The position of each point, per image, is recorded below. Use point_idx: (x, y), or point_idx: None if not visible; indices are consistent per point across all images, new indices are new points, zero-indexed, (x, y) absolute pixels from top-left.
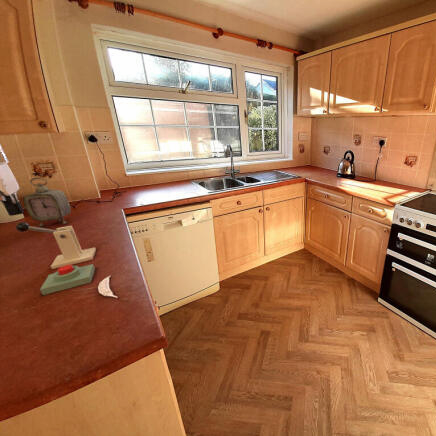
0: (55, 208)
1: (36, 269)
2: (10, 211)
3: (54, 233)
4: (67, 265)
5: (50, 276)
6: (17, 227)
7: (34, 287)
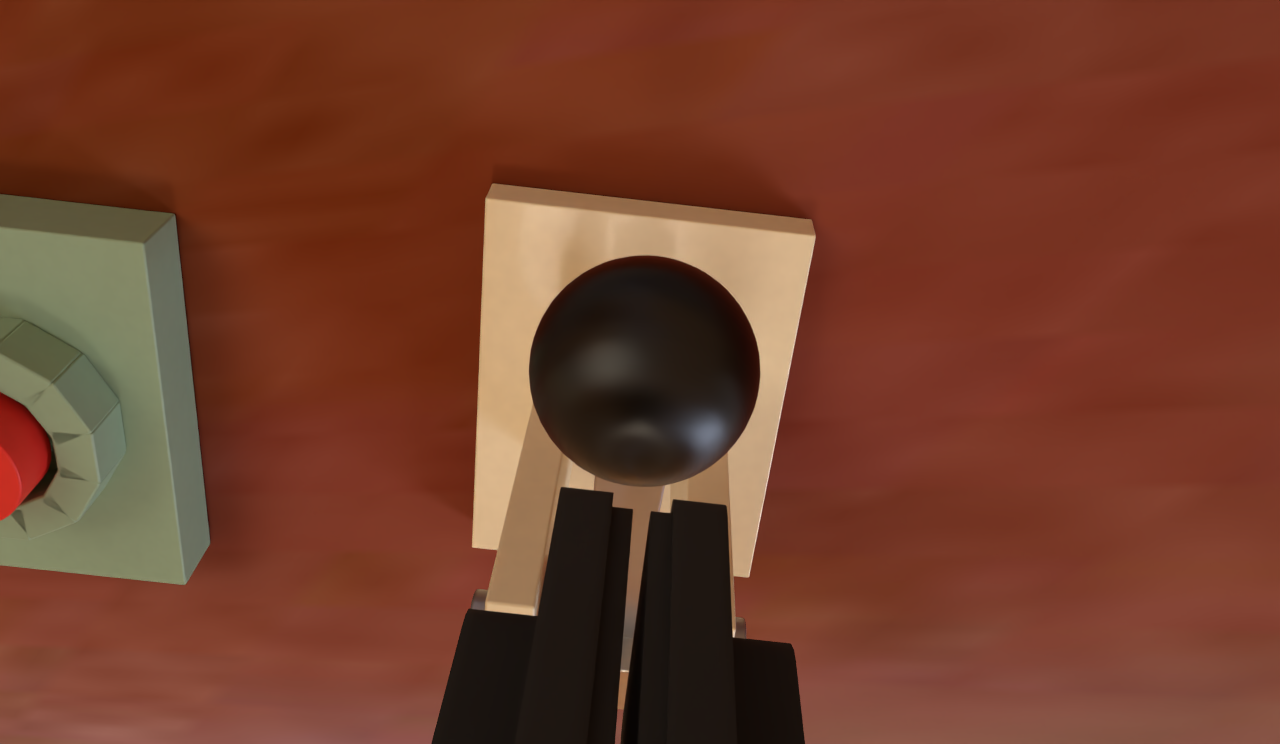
0: None
1: (616, 10)
2: (462, 658)
3: (488, 605)
4: (2, 492)
5: (83, 263)
6: (553, 324)
7: (84, 72)
